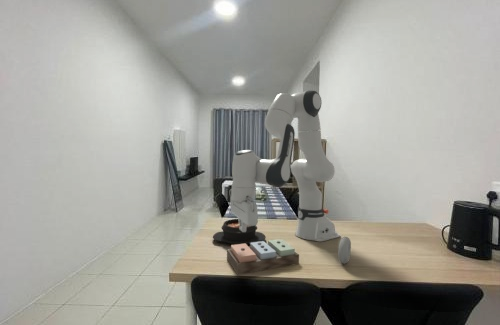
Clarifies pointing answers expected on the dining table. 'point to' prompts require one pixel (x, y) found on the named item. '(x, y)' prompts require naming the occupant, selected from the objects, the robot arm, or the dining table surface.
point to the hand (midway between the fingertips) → (242, 230)
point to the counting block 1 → (243, 253)
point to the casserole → (238, 233)
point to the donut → (344, 250)
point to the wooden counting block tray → (261, 263)
